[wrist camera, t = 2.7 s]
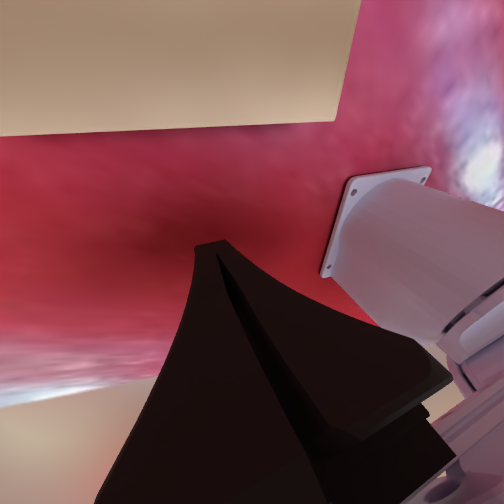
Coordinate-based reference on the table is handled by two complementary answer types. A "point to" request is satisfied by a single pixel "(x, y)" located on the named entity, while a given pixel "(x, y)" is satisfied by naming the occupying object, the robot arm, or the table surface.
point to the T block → (170, 63)
